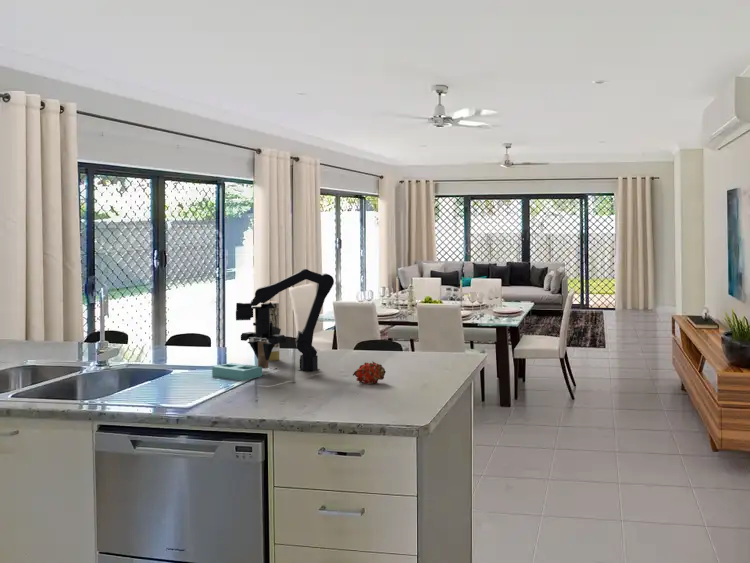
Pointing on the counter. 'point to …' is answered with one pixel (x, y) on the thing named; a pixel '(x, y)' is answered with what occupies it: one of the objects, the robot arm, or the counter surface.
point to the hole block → (237, 371)
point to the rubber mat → (268, 371)
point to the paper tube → (275, 320)
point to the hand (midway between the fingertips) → (263, 359)
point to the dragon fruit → (370, 373)
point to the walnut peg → (262, 355)
